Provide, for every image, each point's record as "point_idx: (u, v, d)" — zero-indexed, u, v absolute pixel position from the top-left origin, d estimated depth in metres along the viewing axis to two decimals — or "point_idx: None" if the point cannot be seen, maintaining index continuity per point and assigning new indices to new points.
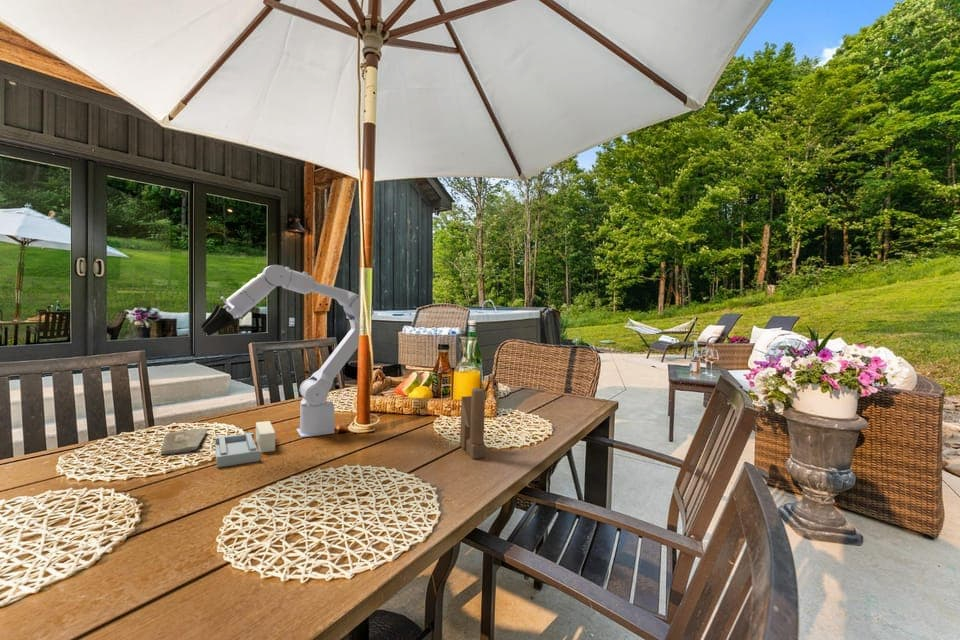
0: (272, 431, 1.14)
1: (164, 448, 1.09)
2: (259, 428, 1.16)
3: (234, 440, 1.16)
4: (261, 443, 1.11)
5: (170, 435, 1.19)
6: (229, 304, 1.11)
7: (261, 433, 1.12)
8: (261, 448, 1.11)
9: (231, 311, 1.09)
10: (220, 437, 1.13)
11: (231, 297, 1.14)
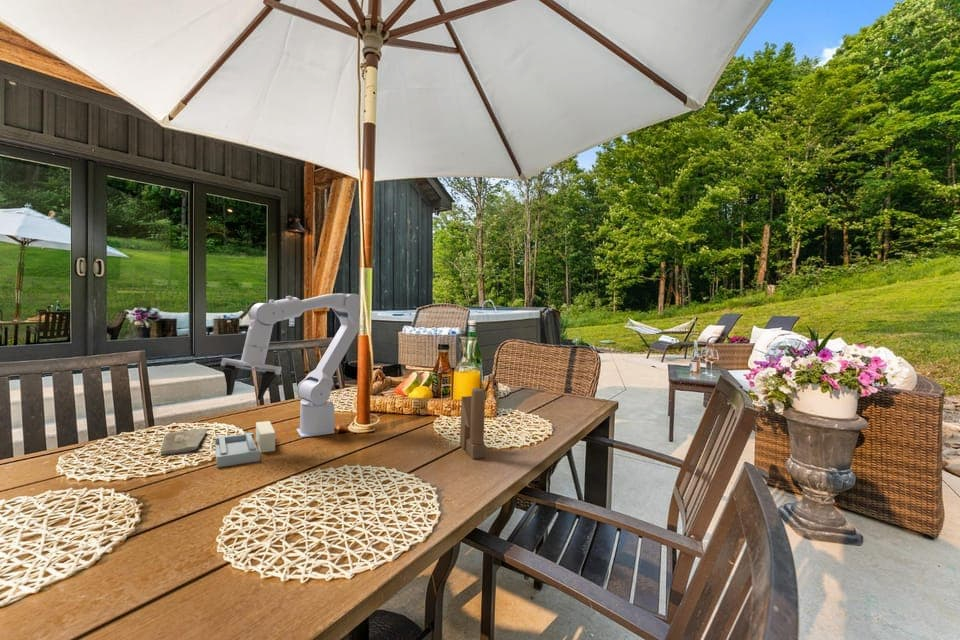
0: (272, 431, 1.14)
1: (164, 448, 1.09)
2: (259, 428, 1.16)
3: (234, 440, 1.16)
4: (261, 443, 1.11)
5: (170, 435, 1.19)
6: (265, 366, 1.14)
7: (261, 433, 1.12)
8: (261, 448, 1.11)
9: (279, 372, 1.16)
10: (220, 437, 1.13)
11: (255, 359, 1.13)
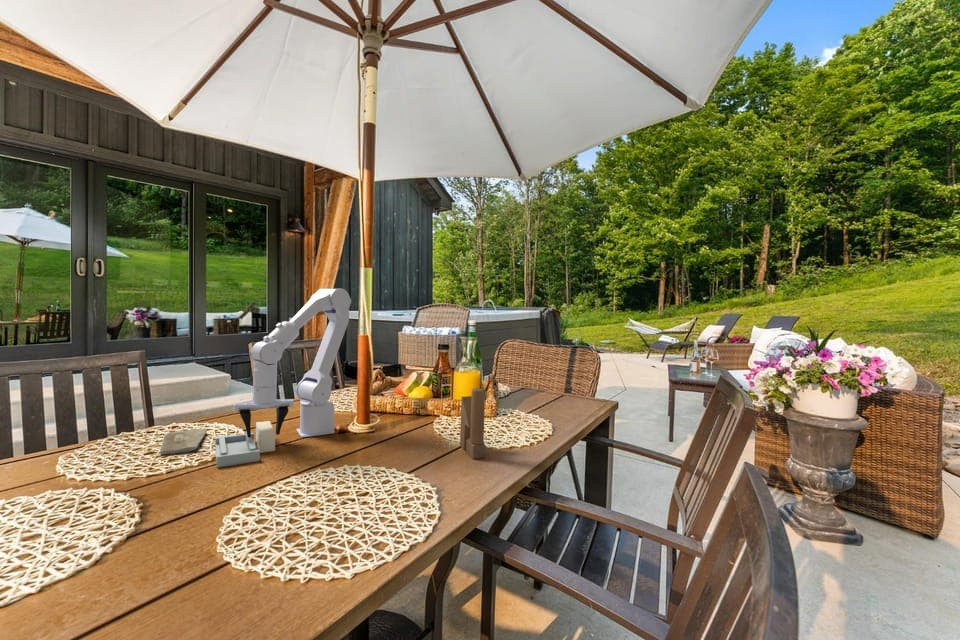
0: (272, 431, 1.14)
1: (163, 448, 1.09)
2: (259, 428, 1.16)
3: (234, 440, 1.16)
4: (261, 443, 1.11)
5: (169, 435, 1.19)
6: (281, 403, 1.17)
7: (261, 433, 1.12)
8: (261, 448, 1.11)
9: None
10: (220, 437, 1.13)
11: (270, 398, 1.15)
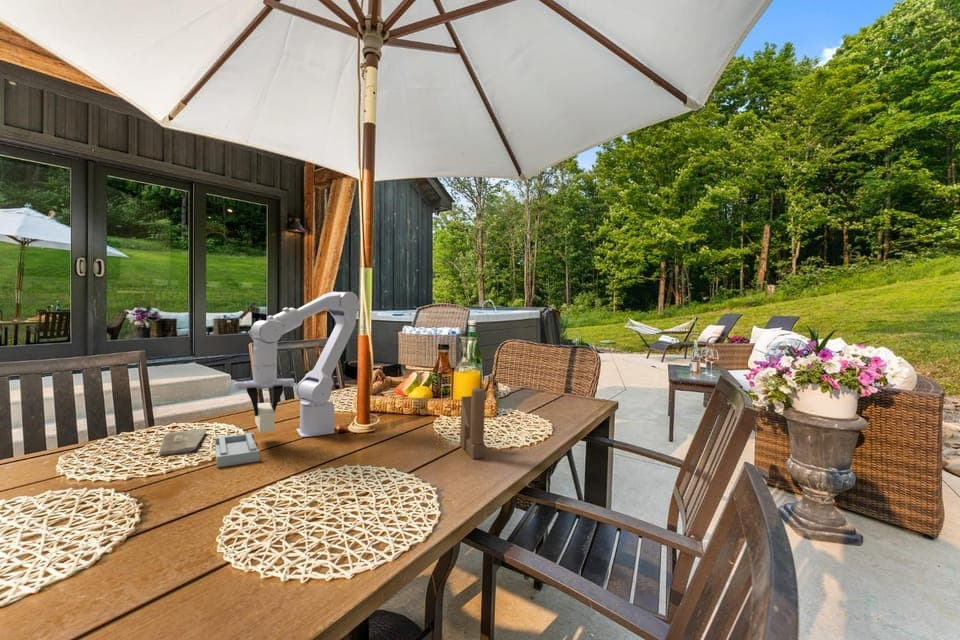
0: (272, 411, 1.13)
1: (162, 449, 1.08)
2: (259, 408, 1.16)
3: (234, 440, 1.16)
4: (261, 422, 1.11)
5: (169, 436, 1.19)
6: (281, 382, 1.17)
7: (261, 413, 1.12)
8: (261, 428, 1.11)
9: None
10: (220, 437, 1.13)
11: (271, 377, 1.15)
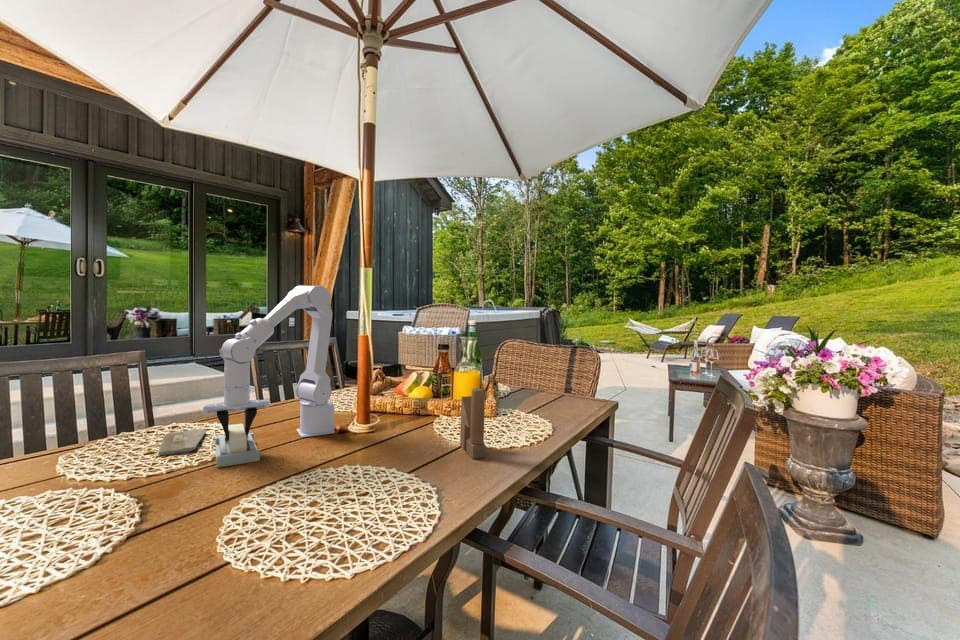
0: (243, 435, 1.07)
1: (162, 449, 1.08)
2: (230, 431, 1.09)
3: None
4: (231, 447, 1.04)
5: (169, 435, 1.19)
6: (254, 404, 1.10)
7: (231, 437, 1.05)
8: (231, 453, 1.04)
9: (268, 405, 1.13)
10: (220, 437, 1.13)
11: (243, 399, 1.08)
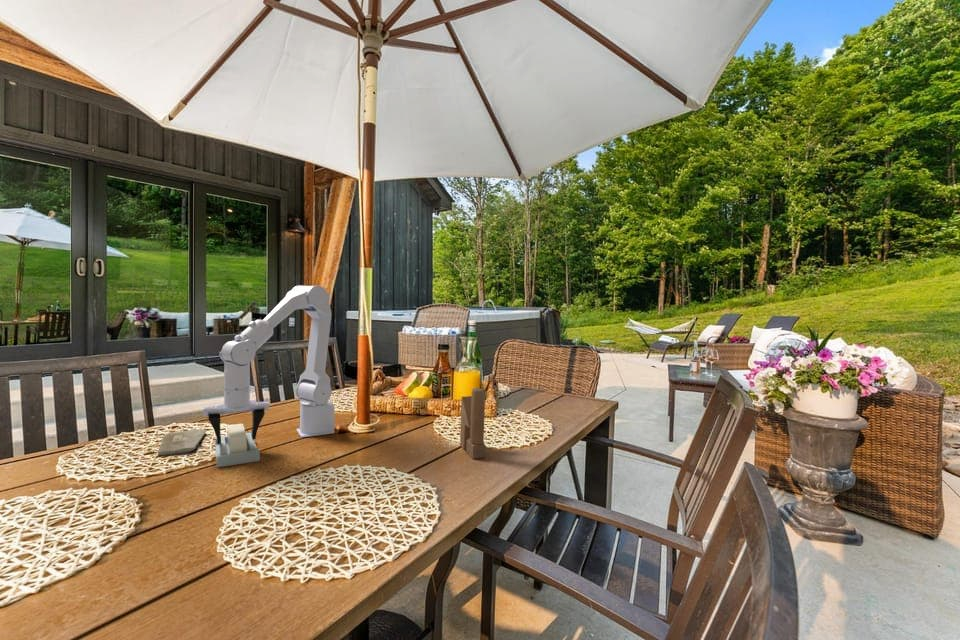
0: (243, 435, 1.07)
1: (161, 449, 1.08)
2: (230, 431, 1.09)
3: None
4: (231, 447, 1.04)
5: (168, 436, 1.19)
6: (254, 406, 1.10)
7: (231, 437, 1.05)
8: (231, 453, 1.04)
9: (268, 407, 1.13)
10: None
11: (243, 401, 1.08)
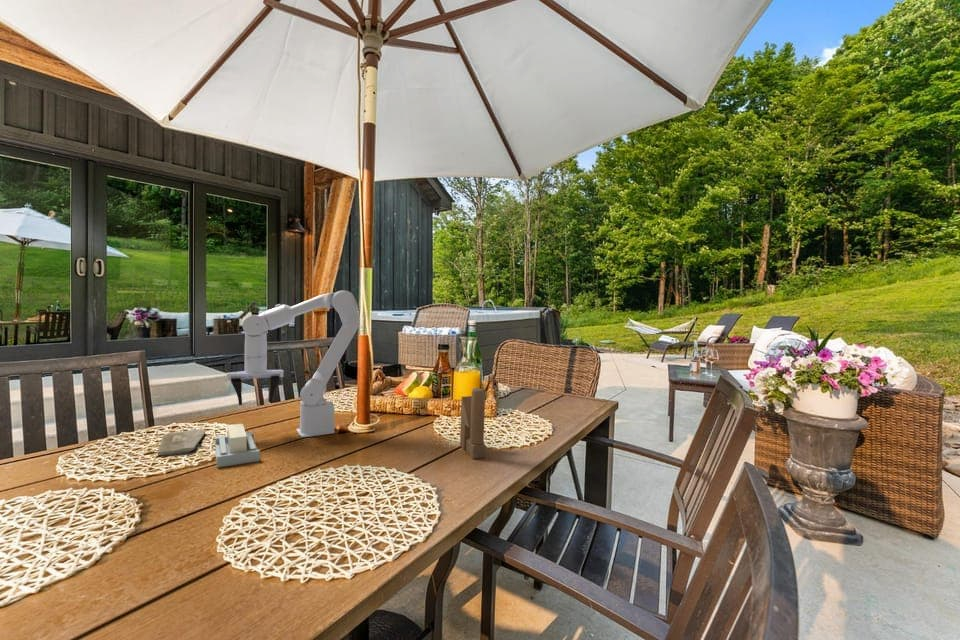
0: (243, 435, 1.07)
1: (160, 449, 1.08)
2: (230, 431, 1.09)
3: None
4: (231, 447, 1.04)
5: (168, 436, 1.18)
6: (271, 373, 1.25)
7: (231, 437, 1.05)
8: (231, 453, 1.04)
9: None
10: (220, 437, 1.13)
11: (261, 368, 1.22)
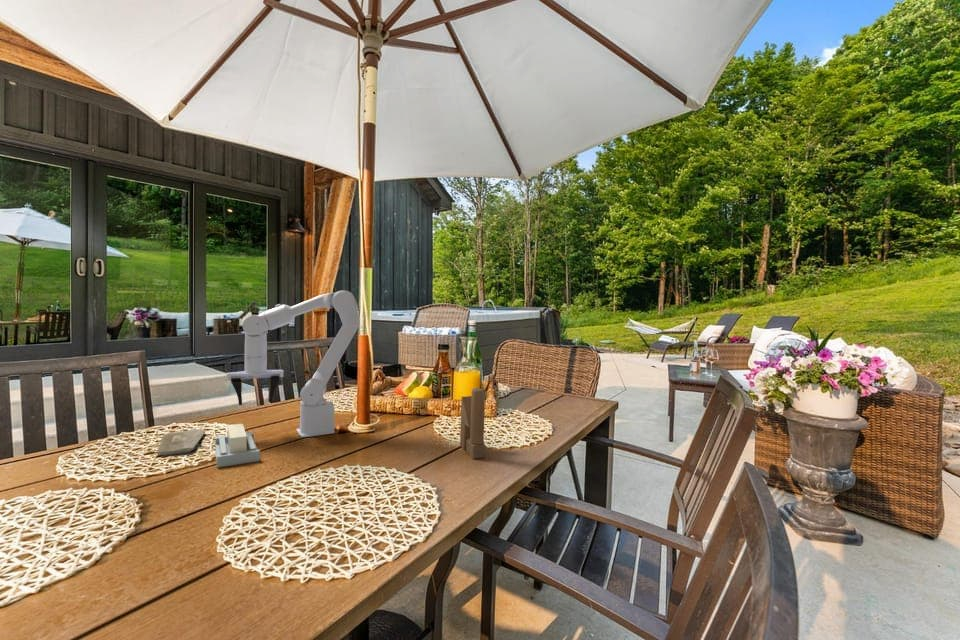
0: (243, 435, 1.07)
1: (160, 449, 1.08)
2: (230, 431, 1.09)
3: None
4: (231, 447, 1.04)
5: (168, 436, 1.18)
6: (271, 373, 1.25)
7: (231, 437, 1.05)
8: (231, 453, 1.04)
9: None
10: (220, 437, 1.13)
11: (261, 368, 1.22)
